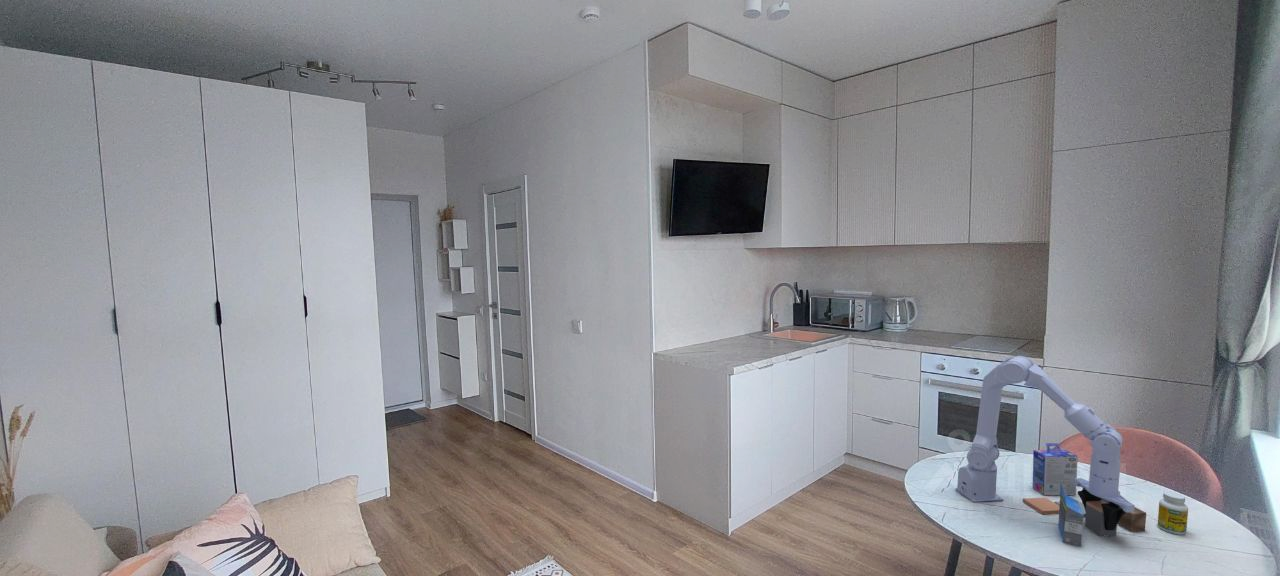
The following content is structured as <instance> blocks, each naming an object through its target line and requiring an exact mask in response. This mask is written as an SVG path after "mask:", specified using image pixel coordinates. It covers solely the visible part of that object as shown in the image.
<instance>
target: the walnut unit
mask: <svg viewBox="0 0 1280 576" xmlns="http://www.w3.org/2000/svg"><path fill="white" fill-rule="evenodd" d="M1101 501H1104V502H1106V503H1108V504H1109V502H1108V501H1106V500H1105V499H1103V498H1102V499H1101ZM1081 503H1083V502H1082V501H1081ZM1146 521H1147V512H1145V511H1144V510H1143V509H1140V508H1137V507H1136V506H1134V512H1128V513H1127V512H1126V513H1125V514H1124V515H1123V516H1122V517H1121V519H1120V520H1119V522H1118V524H1117V526H1120V527H1121V528H1123V529H1125V530H1127V531H1128V532H1130V533H1132V532H1145V531H1146V523H1147V522H1146Z"/></svg>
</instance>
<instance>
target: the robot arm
mask: <svg viewBox="0 0 1280 576" xmlns="http://www.w3.org/2000/svg"><path fill="white" fill-rule="evenodd" d="M1023 382H1024V384H1023V386H1026V387H1032V388H1036V389H1038V390H1040V392H1042V393H1044V395H1045V396H1046V397H1048V398H1049V399H1050V400H1051V401H1053V403H1055V404H1056V405H1057V406H1058V407H1059V408H1061V409H1062V410H1063V411H1064V415H1063V417H1064V419H1066V420H1067V421H1068V422H1069V423H1070V424H1071V425H1072V427H1074V428H1075V429H1076V430H1077V431H1078V432H1080V433H1081V435H1082V436H1083V437H1085V438H1086V439H1087V440H1089V445H1090V446H1091V448H1092V453H1091V455H1090V465H1089V467H1090V468H1089V476H1088V477H1089V479H1088V480H1087V479H1085V478H1082V477H1077V478H1075V483H1074V485H1076V487H1079V488H1081V490H1078V491H1077V496H1078V497H1079V498H1080V500H1081V503H1082V502H1083V505H1084V508H1085V511H1086V501H1101V499H1102V498H1103V499H1105V500H1106V501H1108V502H1109V504H1108V503H1105V504H1101V506H1102V509H1103V512H1104V526H1105V529H1106V530H1108V531H1109V530H1115V528H1116V526H1117V527H1118V522H1119V520H1120V519H1121V517H1122V516H1123V515H1124V514H1125V513H1126V512H1127V513H1128V512H1134V507H1136V506H1135V504H1133V502H1130V501H1129V500H1128V499H1126V498H1125V497H1124V496H1122V495H1121V491H1120V490H1119V488H1120V487H1119V485H1120V484H1119V483H1120V476H1121V475H1120V472H1121V451H1122V445H1123V442H1124V441H1123V440H1124V439H1123V436H1122V434H1121V433H1120V432H1119V430H1118V429H1116V428H1114V427H1113V426H1112V425H1110V424H1109V423H1107V424H1106V423H1105V422H1104V421H1103V420H1102V419H1101V418H1100V417H1099V416H1098V415H1096V414H1095V412H1096V410H1095V409H1094V408H1093V407H1091V406H1090V407H1088V406H1087V405H1086V404H1081V403H1076V402H1075V401H1074V400H1073V399H1072V398H1071V397H1070V396H1069V395H1068V394H1067V393H1066V392H1065V391H1064V390H1063V389H1062V388H1061V387H1060V386H1059V385H1058V384H1057V383H1056V382H1055V381H1054V380H1053V379H1052V378H1051V377H1050V376H1049V375H1047V374H1046V372H1045V371H1044V370H1043V369H1042V368H1041V367H1040V366H1039V365H1037V364H1036V363H1033V361H1032V360H1031V359H1030V358H1028V357H1027V356H1025V355H1015V356H1011V357H1009V358H1007V359H1005V360H1003V361H1001V363H999V364H998V365H996V366H995V367H994V368H992V370H991V371H989V372H988V373H986V375H985V376H984V377H983V379H982V386H981V392H980V394H981V395H980V401H979V408H978V415H977V416H978V417H977V423H976V433H975V435H974V438H973V440H972V443H971V447H970V449H969V451H968V452H967V454H966V459H967V462H968V463H967V464H966V465H964V466H961V467H959V468H958V471H957V486H956V487H955V490H956V491H957V490H958V492H959V493H960V494H962V495H963V496H965V497H966V498H967V499H968V500H970V501H971V502H973V503H974V502H975V503H976V502H995V501H997V502H998V501H1004V498H1003V497H1002V496H1000V495H999V494H997V476H998V467H997V464H996V461H997V460H998V459H999V457H1000V450H999V447H998V438H997V433H998V432H997V430H998V426H999V425H998V424H999V417H1000V410H1001V405H1002V404H1001V402H1002V401H1001V400H1002V397H1003V396H1002V394H1003V388H1004V387H1006V386H1008V385H1012V384H1013V385H1014V384H1020V383H1023Z"/></svg>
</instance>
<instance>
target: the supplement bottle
mask: <svg viewBox="0 0 1280 576" xmlns="http://www.w3.org/2000/svg"><path fill="white" fill-rule="evenodd" d="M1185 502H1186V496H1185V495H1182V494H1180V493H1178V492H1176V491H1175V492H1173V491H1168V490H1166V491H1163V495H1162V498H1161V499H1160V500H1159V502H1158V515H1157V526H1158V527H1159V528H1160V530H1163V531H1165V532H1167V533H1170V534H1175V535H1184V534H1186V533H1187V531H1188V530H1187V529H1188V517H1189V506H1188V505H1187V504H1186V503H1185Z"/></svg>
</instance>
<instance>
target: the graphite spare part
mask: <svg viewBox="0 0 1280 576" xmlns="http://www.w3.org/2000/svg"><path fill="white" fill-rule="evenodd" d="M1105 503H1106V502H1104V501H1086V515H1085V517H1084V528H1086V529H1087V530H1089V531H1090V532H1092V533H1094V534H1096V535H1097V536H1099V537H1113V536H1114V537H1115V536H1117V530H1118V529H1117V528H1118V525H1117V526H1116V528H1115V530H1109V531H1108V530H1106V529H1105V526H1104V512H1103V509H1102V506H1101V504H1105Z"/></svg>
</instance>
